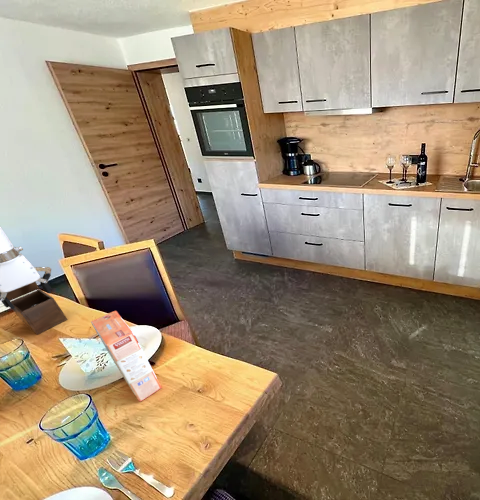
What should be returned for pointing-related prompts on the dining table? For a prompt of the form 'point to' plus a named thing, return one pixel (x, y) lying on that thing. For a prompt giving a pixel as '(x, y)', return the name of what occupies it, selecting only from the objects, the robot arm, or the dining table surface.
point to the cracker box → (127, 354)
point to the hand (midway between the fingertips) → (30, 299)
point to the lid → (22, 291)
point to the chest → (38, 311)
